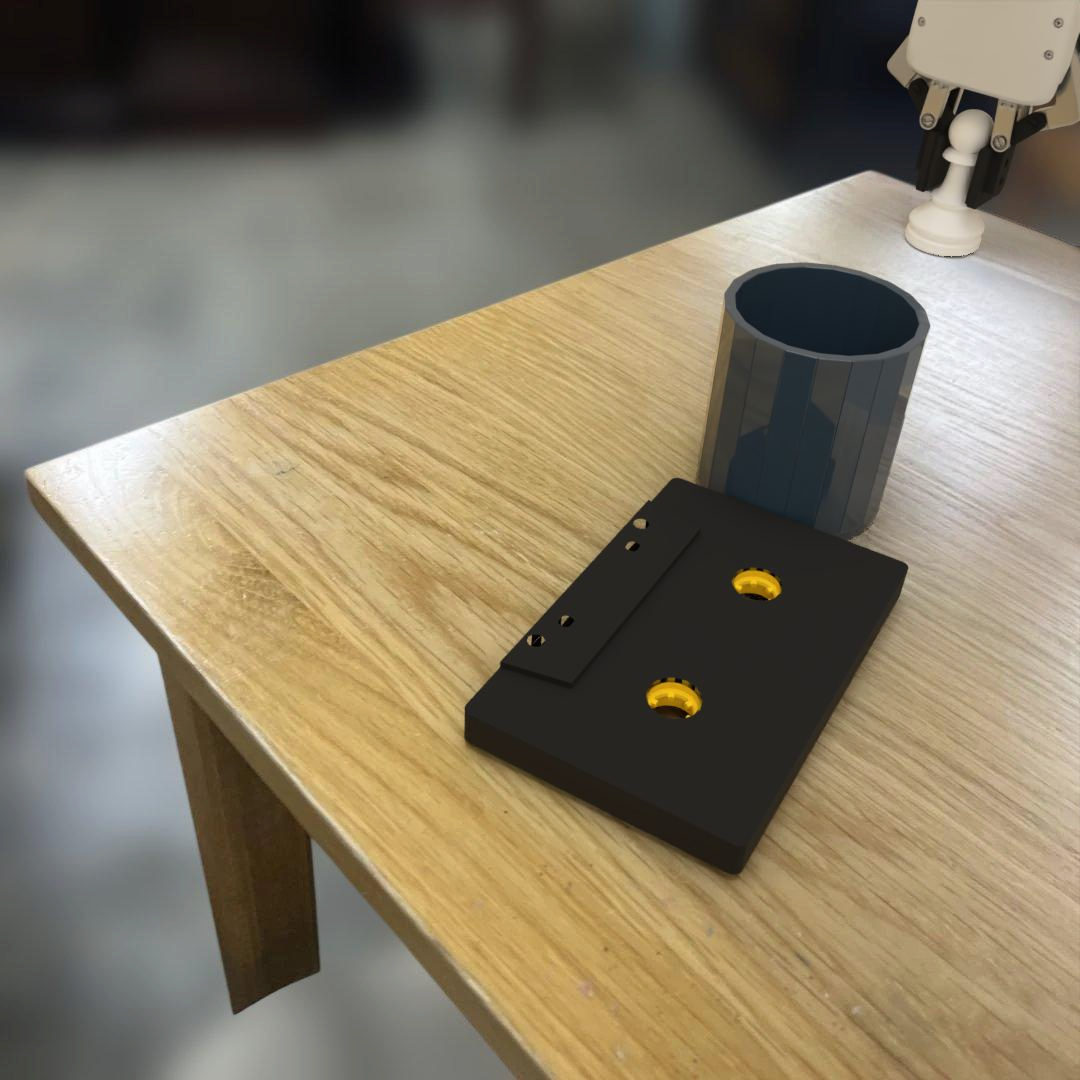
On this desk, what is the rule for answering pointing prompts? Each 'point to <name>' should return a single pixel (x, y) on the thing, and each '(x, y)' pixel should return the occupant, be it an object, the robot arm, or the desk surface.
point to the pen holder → (810, 392)
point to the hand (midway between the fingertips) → (954, 191)
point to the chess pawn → (953, 193)
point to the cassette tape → (690, 669)
